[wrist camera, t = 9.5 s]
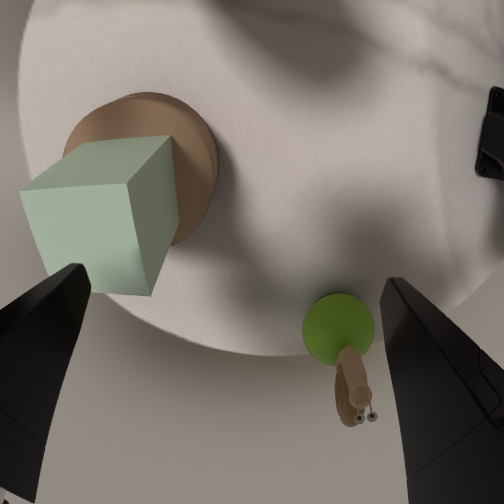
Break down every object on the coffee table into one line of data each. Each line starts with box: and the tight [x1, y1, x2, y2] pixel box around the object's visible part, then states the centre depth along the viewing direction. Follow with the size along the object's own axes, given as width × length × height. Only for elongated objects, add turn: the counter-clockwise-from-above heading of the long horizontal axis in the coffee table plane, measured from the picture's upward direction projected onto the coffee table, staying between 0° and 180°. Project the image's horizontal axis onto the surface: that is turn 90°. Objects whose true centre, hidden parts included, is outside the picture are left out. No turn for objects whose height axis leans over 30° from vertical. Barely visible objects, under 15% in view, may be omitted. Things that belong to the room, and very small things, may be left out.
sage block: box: [19, 135, 180, 296], centre depth 14 cm, size 5×5×6 cm
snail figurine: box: [302, 293, 378, 427], centre depth 20 cm, size 5×6×12 cm
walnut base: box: [63, 92, 219, 246], centre depth 18 cm, size 9×9×3 cm
